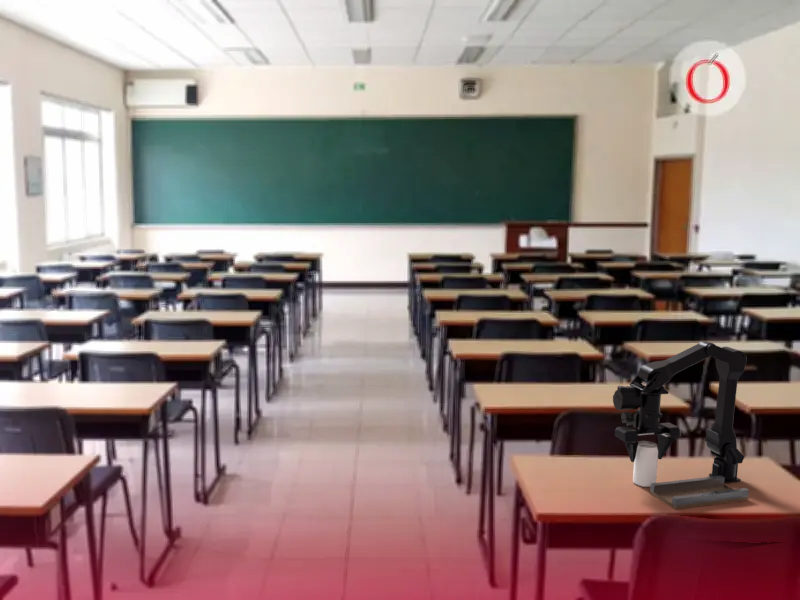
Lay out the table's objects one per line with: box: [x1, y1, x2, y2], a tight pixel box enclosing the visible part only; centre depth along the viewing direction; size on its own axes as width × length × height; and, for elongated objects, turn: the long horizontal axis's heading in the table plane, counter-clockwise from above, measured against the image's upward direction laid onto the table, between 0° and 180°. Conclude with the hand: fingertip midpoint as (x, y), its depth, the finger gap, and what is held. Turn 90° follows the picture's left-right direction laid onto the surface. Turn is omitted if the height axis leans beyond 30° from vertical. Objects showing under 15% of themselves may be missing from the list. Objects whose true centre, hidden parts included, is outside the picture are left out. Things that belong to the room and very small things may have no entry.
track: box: [649, 476, 750, 510], centre depth 210 cm, size 24×11×3 cm, turn 108°
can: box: [632, 440, 659, 488], centre depth 219 cm, size 6×6×12 cm
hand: (645, 460), depth 219 cm, fingers open, 9 cm apart
